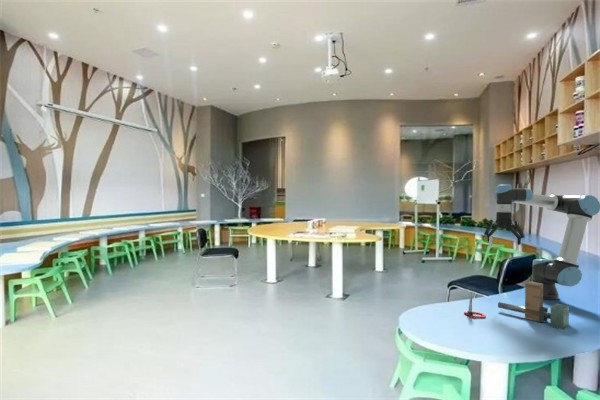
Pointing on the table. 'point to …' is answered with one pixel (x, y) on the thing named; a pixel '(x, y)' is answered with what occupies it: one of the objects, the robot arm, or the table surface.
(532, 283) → the sleeve
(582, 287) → the table surface
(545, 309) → the collar
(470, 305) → the tow hook
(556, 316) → the rod stand
